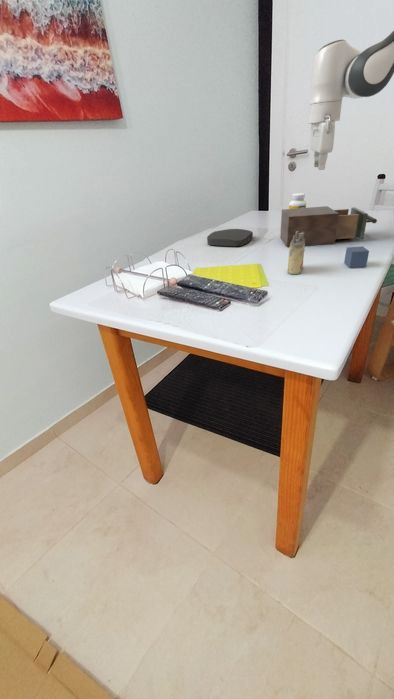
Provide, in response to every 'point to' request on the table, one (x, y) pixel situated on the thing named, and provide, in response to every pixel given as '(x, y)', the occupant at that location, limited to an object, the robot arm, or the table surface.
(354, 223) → the drawer
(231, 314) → the table surface
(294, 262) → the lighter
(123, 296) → the table surface
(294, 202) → the pill bottle
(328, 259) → the table surface
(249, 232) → the media streaming box
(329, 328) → the table surface
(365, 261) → the block
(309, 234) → the cabinet
